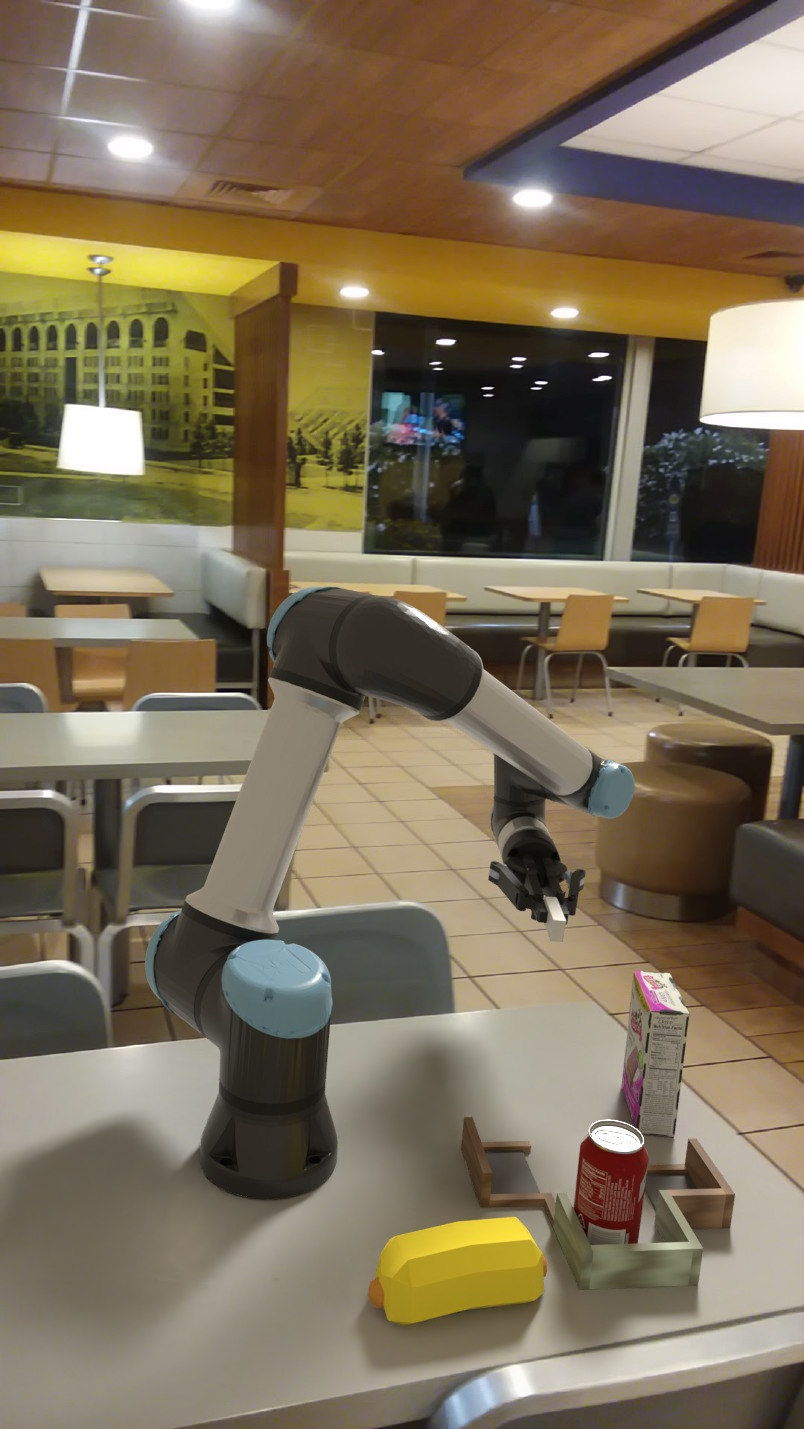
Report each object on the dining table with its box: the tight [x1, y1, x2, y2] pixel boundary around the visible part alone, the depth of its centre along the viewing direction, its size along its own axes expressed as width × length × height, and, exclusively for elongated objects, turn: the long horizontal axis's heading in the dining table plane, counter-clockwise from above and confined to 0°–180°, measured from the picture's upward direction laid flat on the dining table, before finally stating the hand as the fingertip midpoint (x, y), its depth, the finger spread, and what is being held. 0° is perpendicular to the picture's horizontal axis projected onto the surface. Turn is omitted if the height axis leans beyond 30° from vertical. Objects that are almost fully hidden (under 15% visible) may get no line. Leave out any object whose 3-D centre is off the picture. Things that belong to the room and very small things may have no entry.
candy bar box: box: [620, 970, 690, 1138], centre depth 133 cm, size 11×5×16 cm, turn 178°
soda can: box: [572, 1119, 650, 1245], centre depth 108 cm, size 7×7×12 cm
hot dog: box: [367, 1216, 548, 1326], centre depth 100 cm, size 18×7×8 cm
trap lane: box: [460, 1116, 736, 1291], centre depth 114 cm, size 26×23×4 cm
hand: (558, 930), depth 125 cm, fingers closed
